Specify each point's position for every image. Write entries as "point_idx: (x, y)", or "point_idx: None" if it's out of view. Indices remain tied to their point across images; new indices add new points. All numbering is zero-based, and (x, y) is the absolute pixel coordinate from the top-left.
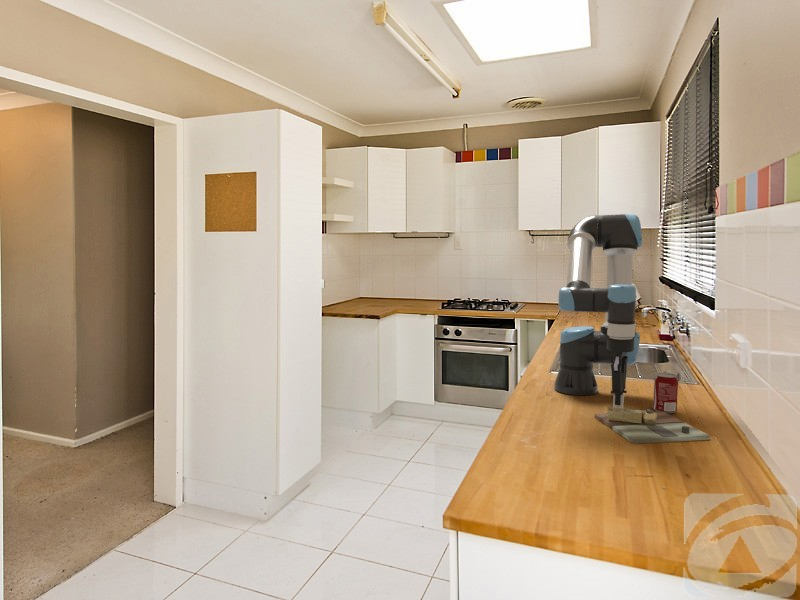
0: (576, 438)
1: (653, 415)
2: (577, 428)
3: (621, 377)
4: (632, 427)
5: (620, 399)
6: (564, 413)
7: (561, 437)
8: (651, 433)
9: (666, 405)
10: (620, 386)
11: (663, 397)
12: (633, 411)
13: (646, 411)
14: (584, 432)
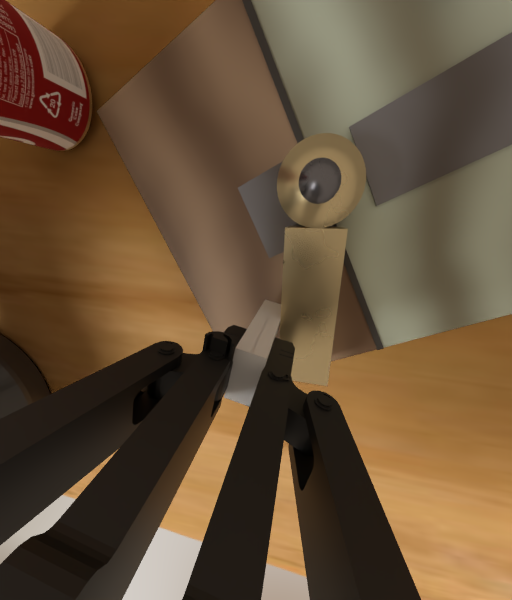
0: (508, 469)
1: (361, 157)
2: (383, 445)
3: (269, 535)
4: (393, 271)
5: (274, 354)
6: (232, 448)
7: (499, 507)
8: (488, 187)
9: (58, 72)
10: (367, 472)
11: (14, 69)
12: (319, 271)
13: (331, 199)
14: (428, 433)
